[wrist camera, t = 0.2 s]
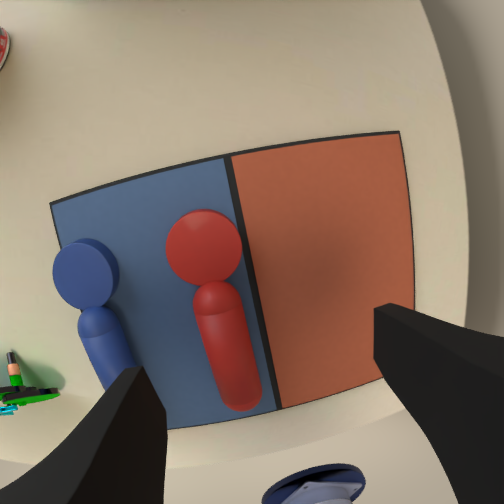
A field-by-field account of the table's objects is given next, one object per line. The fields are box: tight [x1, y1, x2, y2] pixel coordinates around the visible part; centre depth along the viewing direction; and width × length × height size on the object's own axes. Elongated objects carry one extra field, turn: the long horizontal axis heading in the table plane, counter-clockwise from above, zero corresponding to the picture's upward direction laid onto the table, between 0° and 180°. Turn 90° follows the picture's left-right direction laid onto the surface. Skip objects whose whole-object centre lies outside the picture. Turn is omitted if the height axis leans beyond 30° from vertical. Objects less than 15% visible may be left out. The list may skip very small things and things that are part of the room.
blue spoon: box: [53, 239, 137, 392], centre depth 15 cm, size 11×4×2 cm, turn 11°
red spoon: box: [166, 209, 262, 412], centre depth 16 cm, size 11×4×2 cm, turn 11°
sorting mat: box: [49, 131, 415, 430], centre depth 17 cm, size 16×20×1 cm
